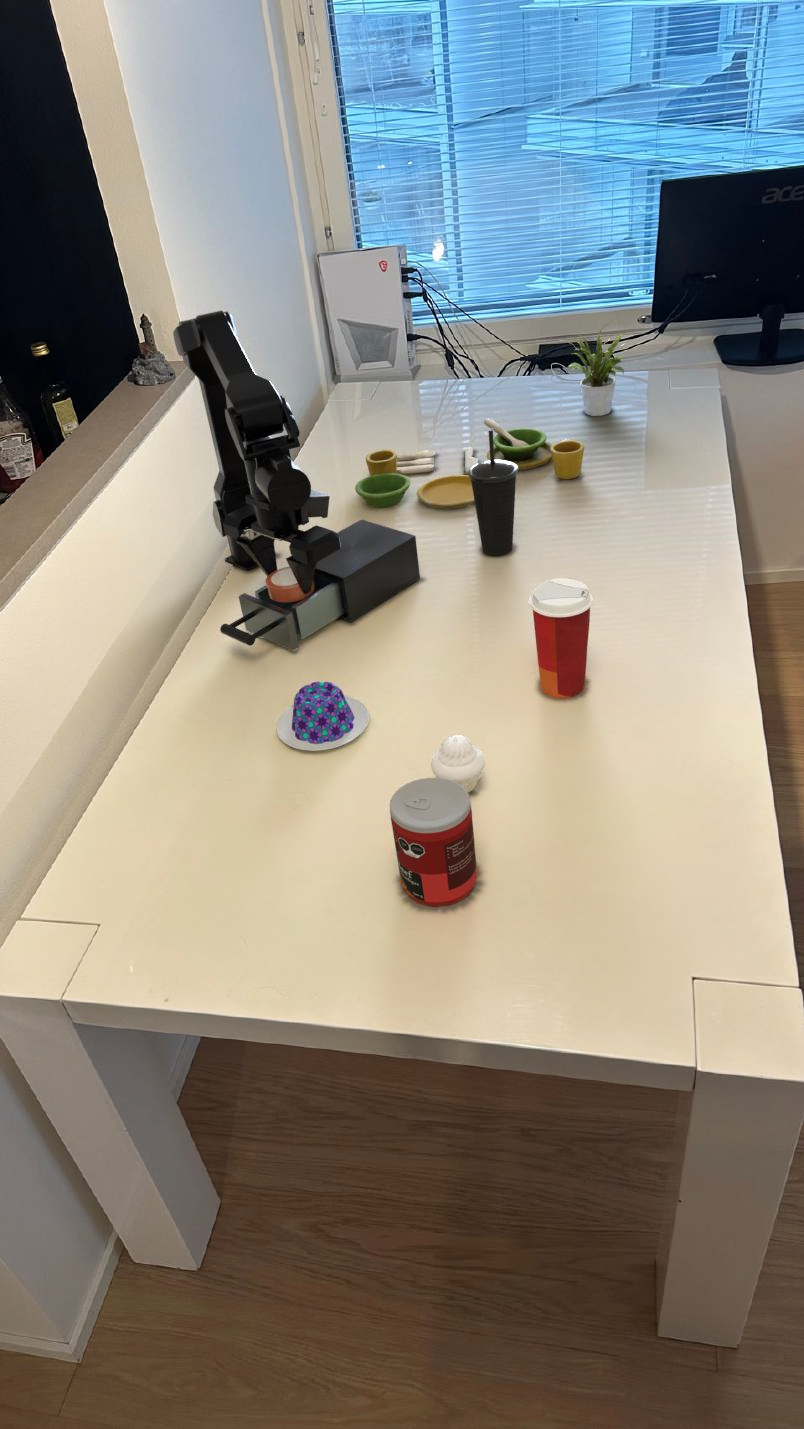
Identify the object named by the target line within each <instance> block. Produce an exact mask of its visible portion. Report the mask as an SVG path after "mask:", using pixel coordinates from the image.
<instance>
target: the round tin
mask: <svg viewBox="0 0 804 1429" xmlns="http://www.w3.org/2000/svg"><path fill="white" fill-rule="evenodd" d="M265 585H266V586H267V591H268V595H269V597H270V598H271V599H272V600H274V601H277V602H294V601H298V600H301V599H304V598H306V597H308V596H309V595H310V594H312V593H313V591H314V589H315V586H314V580H313V583H312V588H311V591H310V592H309V593H307V594H304V593H303V592H302V590H301V588H300V586H299V584H298V582H297V580H296V578H295V576H294V574H293V572H292V570H291V568H290V566H286V567H281V568H277V570H276V571H274V572H272V573H271V574H269V575H268V577H267V576H266V578H265Z"/></svg>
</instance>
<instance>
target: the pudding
mask: <svg viewBox="0 0 804 1429" xmlns="http://www.w3.org/2000/svg"><path fill="white" fill-rule="evenodd" d="M369 722H370V712H369V709H368V707H367V706H366V705H365V703H363V702H362V701H360V700H359V699H357V698H355V697H352V696H350V695H345V694H344V692H343V691H342V689H341V688H340V687H339V686H338V685H335V684H334V683H333V682H331V681H313V682H311V683H310V684H305V685H303V686H301V688H300V689H299V690H298V692H297V693H296V694H295V695H294V698H293V704H292V705H291V706H290V707H288V708H287V709H286V710H285V711H284V712H282V714H280V717H279V718H278V720H277V722H276V728H275V729H276V734H277V736H278V738H279V739H280V740H281V741H282V742H283V744H286V745H287V746H289V747H291V748H294V749H297V750H302V751H311V752H312V751H313V752H314V751H324V750H325V751H326V750H330V749H334V748H337V747H341V746H343V745H346V744H348V743H350V742H352V741H353V740H355V739H356V738H358V737H359V736H360V735H361V734H362V733H363V732H364V731H365V730H366V729H367V727H368V725H369Z"/></svg>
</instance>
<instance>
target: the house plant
mask: <svg viewBox="0 0 804 1429" xmlns="http://www.w3.org/2000/svg"><path fill="white" fill-rule="evenodd" d="M602 331H603V329H600V331H599V333H598V334H597V340H596V347H595V353H592V352H591V350H590V346H589V343H588V342H587V340H586V339H585V337H583V336H581V335H578V334H577V335H578V336H577V337H576V339H575V341H576V343H577V344H579V347H580V348H575V349H574V351H578V352H579V353H578V352H574V353H572V355H573V354H574V355H576V356H577V357H579V359H580V360H581V362H582V363H583V365H584V366H583V365H582V364H580V363H578V362H572V363H570V364H569V365H568V368H572V369H571V371H572V370H573V371H574V370H577V372H579V371H581V372H582V373H583V374H584V375H585V378H583V379H581V380H580V382H579V385H580V390H581V396H582V403H583V408H584V413H585V414H586V415H587V416H591V417H601V416H605V415H606V416H607V415H608V414H610V412H611V410H612V405H613V398H614V393H615V386H616V378H615V377H616V374H617V372H616V371H615V370H617V371H619V372H621V373H622V374H623V375H625V370H624V368H623V367H621V366H616V365H618V364H620V363H622V362H623V363H624V362H625V361H624V360H623V356H616V357H612V356H613V354H614V353H615V348H616V347H617V346H618V344H619V342H620V340H621V338H622V337H623V336H624V335H625V334H626V333H628V332H624V333H621V334H620V335H617V337H616V338H615V339H614V340H613V341H612V343H611V344H610V345H609V347H608V348H607V350H604V351H603V347H604V346H605V345H606V343H607V342H608V341H609V340H610V339H611V338H612V337H613V335H611V336H610V337H608V338H607V339H606V340H605V342H604V343H603V340H602V337H601V334H602ZM578 337H580V338H582V339H583V341H584V343H583V341H582V340H581V339H580V338H578ZM557 341H559V342H566V343H569V344H570V345H573V346H574V344H573V343H572V342H570V341H567V340H563V339H557ZM626 344H627V342H625V343H622V344H621V345H619V346H618V347H617V349H619V348H620V347H622V346H623V345H626ZM580 351H581V352H583V353H584V354H585V356H586V357H584V356H583V354H582V353H581V352H580ZM586 359H587V360H586ZM610 375H613V376H614V377H612V376H610Z"/></svg>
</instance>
